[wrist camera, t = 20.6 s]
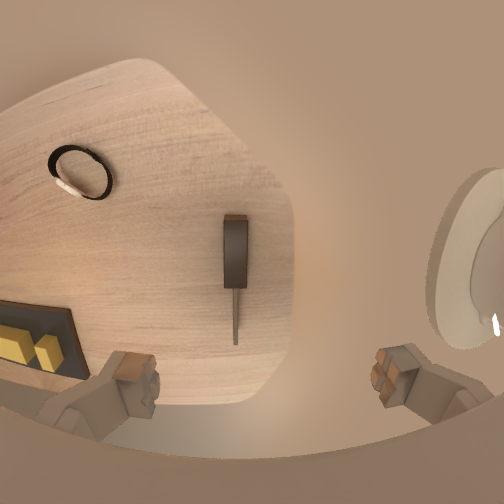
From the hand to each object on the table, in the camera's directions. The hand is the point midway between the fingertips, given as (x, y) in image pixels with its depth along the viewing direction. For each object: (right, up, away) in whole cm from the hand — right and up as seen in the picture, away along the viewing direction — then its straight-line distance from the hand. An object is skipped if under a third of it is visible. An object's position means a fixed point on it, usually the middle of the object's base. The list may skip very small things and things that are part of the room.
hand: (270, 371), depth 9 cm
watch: (-17, +12, +15) cm, 25 cm away
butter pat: (-25, -8, +18) cm, 32 cm away
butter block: (-35, -8, +18) cm, 40 cm away
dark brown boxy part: (-2, +2, +18) cm, 19 cm away
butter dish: (-31, -7, +19) cm, 37 cm away
